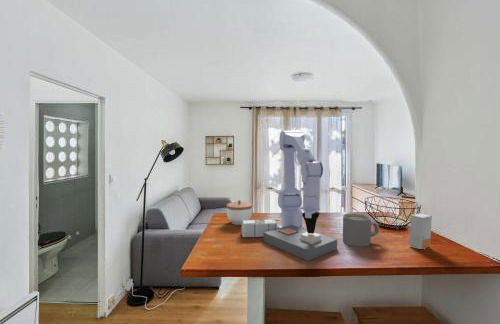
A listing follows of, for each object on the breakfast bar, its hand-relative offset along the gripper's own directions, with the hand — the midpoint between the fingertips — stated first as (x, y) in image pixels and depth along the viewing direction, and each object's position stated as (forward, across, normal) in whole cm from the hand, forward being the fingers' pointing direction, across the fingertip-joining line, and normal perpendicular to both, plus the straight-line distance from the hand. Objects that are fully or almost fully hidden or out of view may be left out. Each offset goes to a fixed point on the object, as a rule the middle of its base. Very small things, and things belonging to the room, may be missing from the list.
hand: (310, 232), depth 90 cm
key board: (+6, -3, -5) cm, 8 cm away
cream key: (+5, 0, 0) cm, 5 cm away
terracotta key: (+6, -6, -9) cm, 13 cm away
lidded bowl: (+6, -21, -37) cm, 43 cm away
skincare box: (+6, -16, +37) cm, 41 cm away
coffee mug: (+6, -14, +17) cm, 23 cm away
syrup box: (+3, -4, -29) cm, 29 cm away
